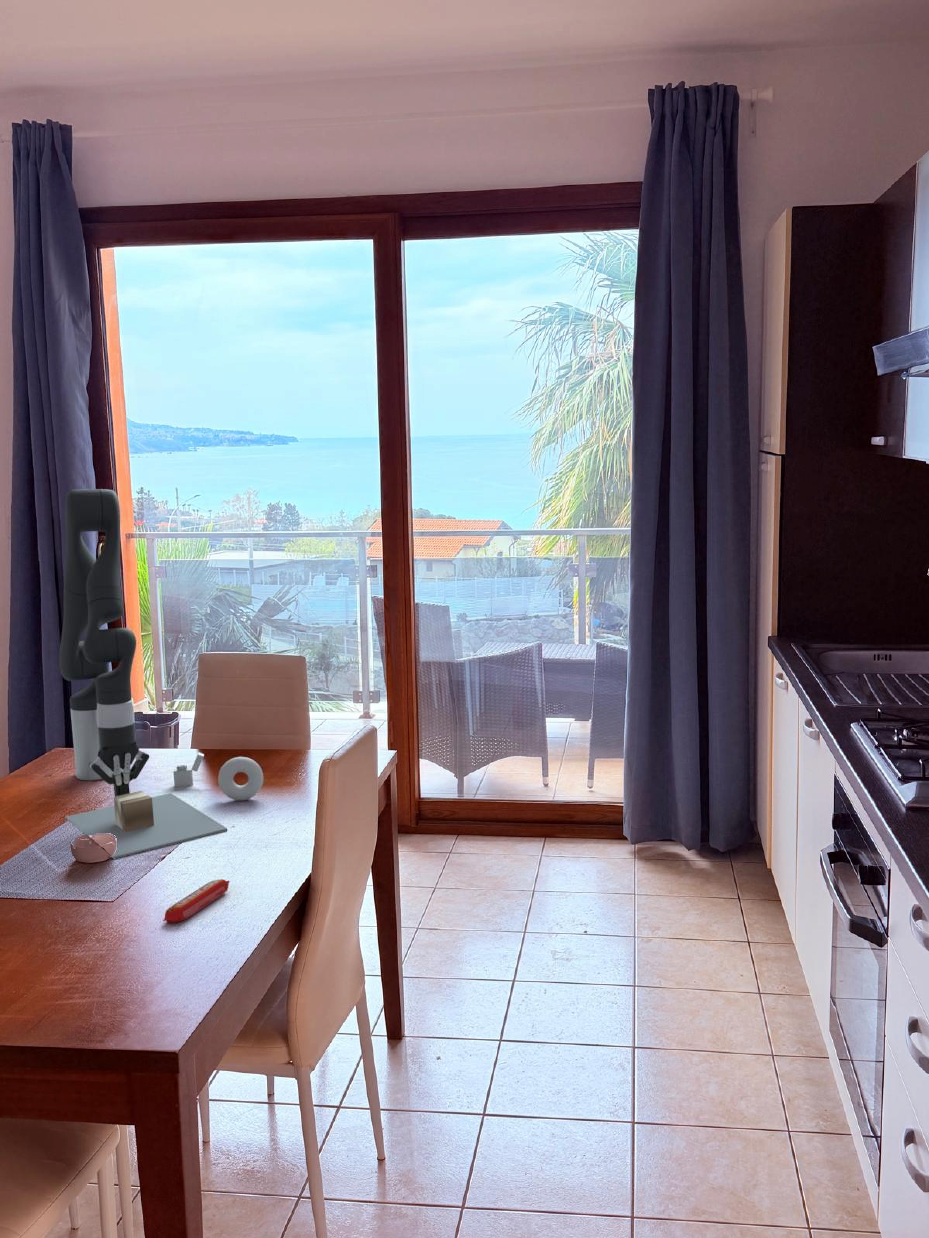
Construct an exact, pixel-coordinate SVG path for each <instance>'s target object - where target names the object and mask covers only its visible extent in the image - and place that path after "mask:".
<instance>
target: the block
mask: <svg viewBox="0 0 929 1238" xmlns="http://www.w3.org/2000/svg"><path fill="white" fill-rule="evenodd" d="M152 797H153V796H149V794H147V793H145V792H144V791H142V790H140V791H133V792H130V793H129V794H124V795H120V796H115V795H114V796H113V803H114V804H113V806H114V808H115V820H116V825H118V826H119V827H120V828H122V829H123V830H124V831H126V832H127V831H132V830H136V829H140V828H144V827H148V826H153V825H154V817H153V804H152Z"/></svg>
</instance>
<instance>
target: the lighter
mask: <svg viewBox="0 0 929 1238" xmlns="http://www.w3.org/2000/svg"><path fill="white" fill-rule="evenodd" d="M204 756H205V754H204V753H202V752H198V753H197V755H196V758H195V760H194V763H193V765H192V767H188V765H187V764H179V765H177V766H176V768H175V769H173V771H172V772H173V782H174V783H173V785H174V786H173V787H174V788H180V787H194V777H193V772H198V770H199V768H200V766H201V764H202V762H203V759H204V758H205V757H204Z"/></svg>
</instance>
